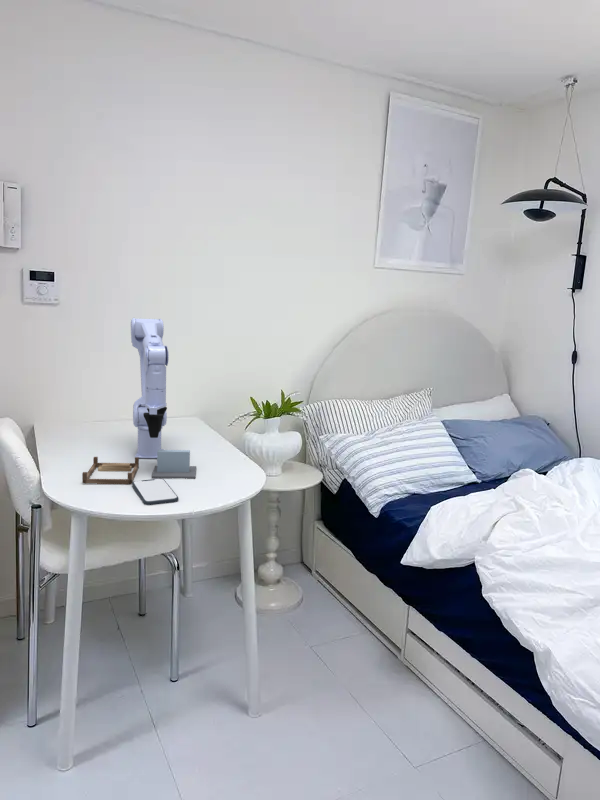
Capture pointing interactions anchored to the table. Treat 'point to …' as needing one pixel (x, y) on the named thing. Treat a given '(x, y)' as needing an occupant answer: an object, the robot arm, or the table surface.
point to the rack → (109, 481)
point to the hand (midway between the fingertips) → (155, 434)
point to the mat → (175, 474)
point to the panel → (173, 460)
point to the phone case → (154, 492)
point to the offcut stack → (115, 467)
